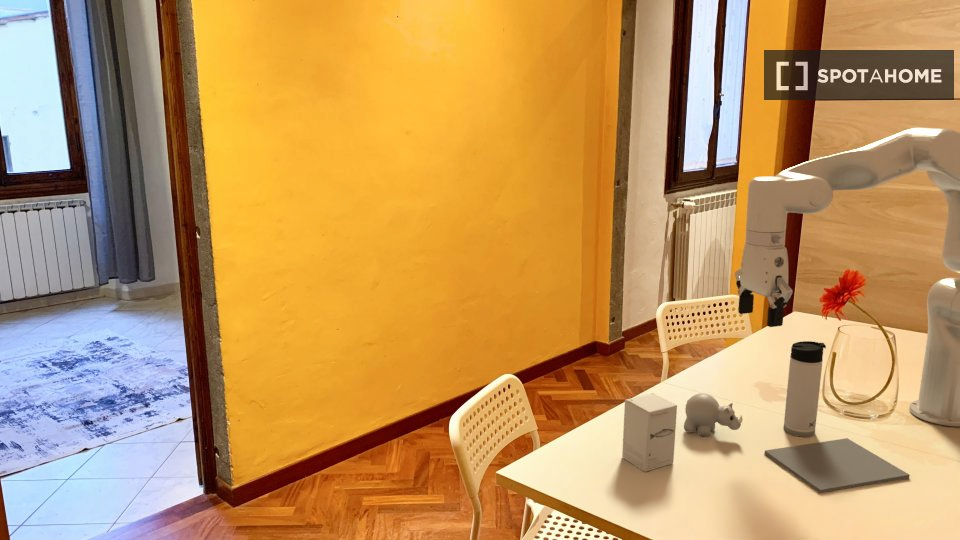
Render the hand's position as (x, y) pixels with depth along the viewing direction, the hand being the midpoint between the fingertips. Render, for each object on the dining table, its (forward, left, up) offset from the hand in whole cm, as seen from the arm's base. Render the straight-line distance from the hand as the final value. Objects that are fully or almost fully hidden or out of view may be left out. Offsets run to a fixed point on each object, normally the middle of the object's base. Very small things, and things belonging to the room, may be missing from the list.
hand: (759, 319), depth 153 cm
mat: (-7, +17, -25) cm, 32 cm away
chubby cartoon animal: (+8, -2, -26) cm, 27 cm away
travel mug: (-11, +2, -26) cm, 28 cm away
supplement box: (+27, +5, -26) cm, 38 cm away
